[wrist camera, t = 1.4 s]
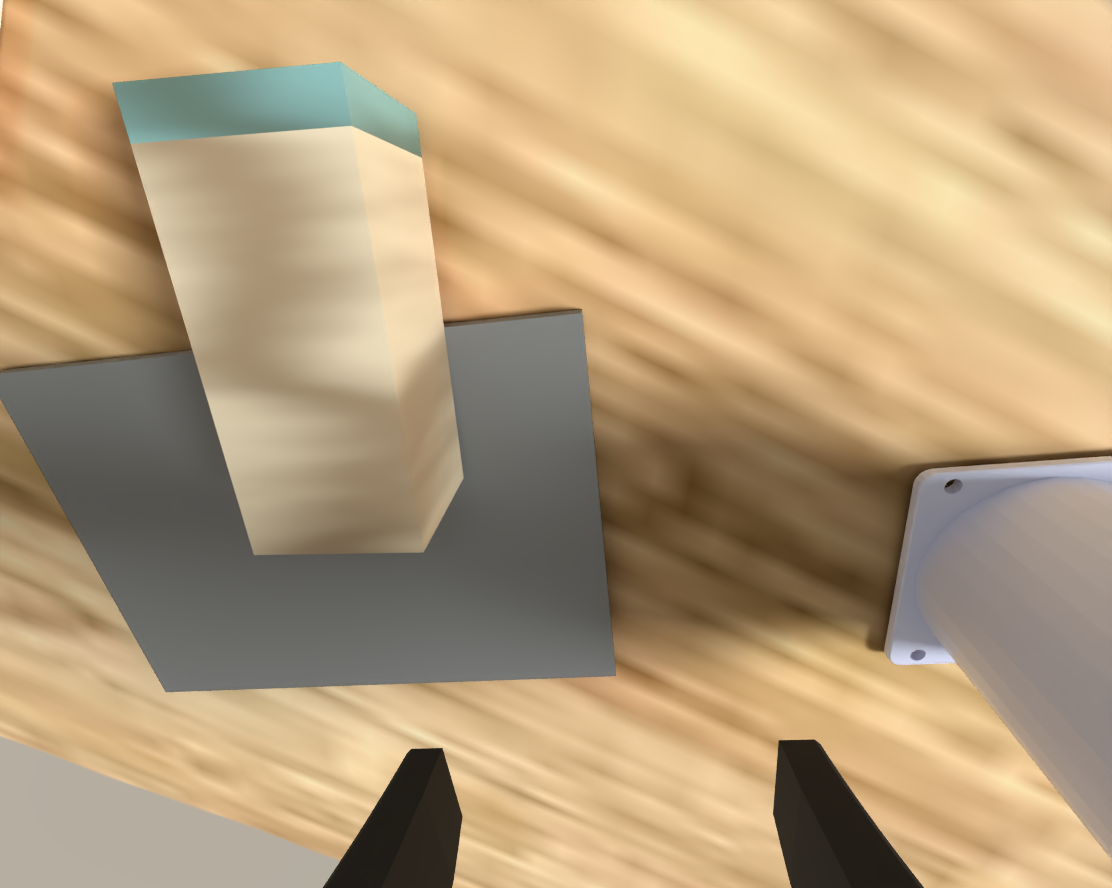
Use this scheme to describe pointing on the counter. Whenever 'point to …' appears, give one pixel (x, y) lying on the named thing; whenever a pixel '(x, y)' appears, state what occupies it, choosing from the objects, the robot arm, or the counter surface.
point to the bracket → (0, 3)
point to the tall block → (306, 298)
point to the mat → (339, 579)
